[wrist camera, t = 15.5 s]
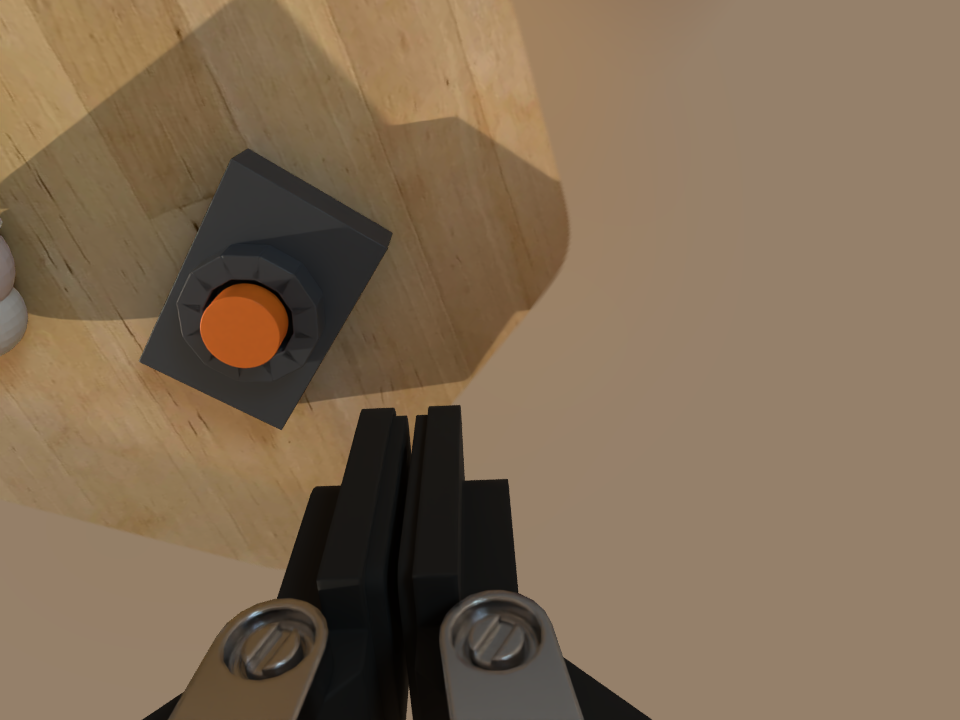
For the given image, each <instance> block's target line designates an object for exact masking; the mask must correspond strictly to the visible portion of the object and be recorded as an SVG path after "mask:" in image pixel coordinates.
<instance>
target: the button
mask: <svg viewBox="0 0 960 720" xmlns="http://www.w3.org/2000/svg"><path fill="white" fill-rule="evenodd" d="M287 330H288V315H287V312H286V309H285V307H284V305H283V304H282V302H281V301H280V300H279V298H278V297H277V296H276V295H275V294H273V293H272V292H271V291H269V290H268V289H266V288H264V287H262V286H259V285H255V284H249V283H241V284H235V285H232V286H230V287H227V288H226V289H224V290H223V291H222V292H221V293H220V294H219V295H218V296H217V297H216V298H215V299H214V300H213V301H212V303H211V304H210V305H209V306H208V307H207V308H206V310H205V311H204V313H203V315H202V318H201V322H200V332H201V337H202V339H203V342H204V344H205V346H206V347H207V349H208V350H209V351H210V352H211V353H212V354H213V355H214V356H215V357H216V358H217V359H219V360H220V361H222V362H224V363H226V364H228V365H231V366H234V367H239V368H252V367H257V366H260V365H262V364H265V363H266V362H268V361H269V360H270V359H271V358H272V357H273V356H274V355H275V353H276V352H277V350H278V348H279V347H280V345H281V343H282V341H283V340H284V338H285V336H286V334H287Z"/></svg>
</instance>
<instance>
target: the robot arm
mask: <svg viewBox="0 0 960 720" xmlns="http://www.w3.org/2000/svg"><path fill="white" fill-rule="evenodd" d="M511 518H512V517H511V507H510V496H509V485H508V479H498V480H497V479H496V480H471V481H465V476H464V458H463V439H462V421H461V407H460V405H452V406H429V408H428V415H417V416H416V422H415V430H414V438H413V446H412V454H411V445H410V435H409V424H408V418H407V416H396V411H395V408H375V409H362V410H361V413H360V416H359V420H358V424H357V428H356V431H355V435H354V439H353V443H352V447H351V450H350V454H349V458H348V462H347V465H346V469H345V473H344V477H343V481H342V484H341V486H317V487H315V488H314V489H313V491H312V493H311V495H310V498H309V501H308V504H307V507H306V510H305V514H304V517H303V520H302V523H301V526H300V529H299V532H298V535H297V538H296V541H295V544H294V548H293V551H292V554H291V557H290V560H289V563H288V566H287V569H286V572H285V576H284V579H283V582H282V585H281V588H280V591H279V594H278V597H277V599H273V600H270V601H266V602H262V603H259V604H256V605H254V606H252V607H250V608H248V609H246V610H244V611H242V612H240V613H239V614H238V615H237V616H235V617H234V618H233V619H231V620H230V621H229V622H228V623H227V624H226V625H225V626H224V627H223V629H222V630H221V631H220V633H219V634H218V635H217V636H216V638H215V640H214V642H213V643H212V645H211V647H210V648H209V650H208V652H207V653H206V655H205V657H204V659H203V660H202V662H201V664H200V665H199V667H198V669H197V671H196V672H195V674H194V676H193V677H192V679H191V681H190V683H189V684H188V686H187V688H186V689H185V691H184V692H183V693H181V694H180V695H178V696H177V697H175V698H174V699H173V700H171V701H170V702H168V703H166V704H165V705H163V706H162V707H161V708H159V709H158V710H156V711H155V712H153V713H152V714H150V715H149V716H147V717H146V718H144V719H143V720H406V712H407V699H408V688H409V690H410V698H411V707H412V715H413V720H652V719H650V718H649V717H648V716H646V715H645V714H643V713H642V712H640V711H639V710H637V709H636V708H635V707H633V706H632V705H631V704H629V703H627V702H626V701H625V700H623V699H622V698H620V697H619V696H618V695H616V694H615V693H613V692H612V691H611V690H609V689H608V688H606V687H605V686H604V685H602V684H601V683H599V682H598V681H596V680H595V679H594V678H592V677H591V676H589V675H588V674H586V673H585V672H584V671H582V670H581V669H579V668H578V667H576V666H575V665H574V664H572V663H571V662H569V661H568V660H567V659H565V658H564V657H563V656H562V652H561V649H560V646H559V644H558V640H557V637H556V634H555V631H554V628H553V625H552V623H551V621H550V619H549V618H548V616H547V614H546V612H545V611H544V610H543V609H542V608H541V607H540V606H539V605H538V604H537V603H536V602H535V601H533V600H532V599H530V598H527V597H525V596H523V595H521V594H519V593H518V584H517V573H516V562H515V551H514V539H513V528H512V519H511Z"/></svg>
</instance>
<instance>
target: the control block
mask: <svg viewBox="0 0 960 720" xmlns="http://www.w3.org/2000/svg"><path fill="white" fill-rule="evenodd" d="M391 237H392V232H390V231H389V230H387V229H385V228H383V227H382V226H380V225H378V224H377V223H375V222H373V221H371V220H370V219H368V218H366V217H365V216H363V215H361V214H359V213H358V212H356V211H354V210H353V209H351V208H349V207H347V206H346V205H344V204H342V203H341V202H339V201H337V200H335V199H334V198H332V197H330V196H329V195H327V194H325V193H323V192H322V191H320V190H318V189H317V188H315V187H313V186H311V185H310V184H308V183H306V182H305V181H303V180H301V179H299V178H298V177H296V176H294V175H293V174H291V173H289V172H287V171H286V170H284V169H282V168H281V167H279V166H277V165H275V164H274V163H272V162H270V161H269V160H267V159H265V158H263V157H262V156H260V155H258V154H257V153H255V152H253V151H251V150H250V149H246V150H245V151H243V152H241V153H240V154H238V155H236V156H235V157H233V158H232V159H231V160H230V162H229V164H228V166H227V169H226V171H225V173H224V175H223V177H222V180H221V182H220V184H219V186H218V188H217V191H216V193H215V195H214V197H213V199H212V201H211V204H210V206H209V208H208V210H207V212H206V215H205V217H204V219H203V221H202V223H201V226H200V228H199V230H198V232H197V234H196V237H195V239H194V241H193V243H192V245H191V248H190V250H189V252H188V254H187V256H186V259H185V261H184V263H183V265H182V267H181V270H180V272H179V274H178V276H177V278H176V280H175V283H174V285H173V287H172V289H171V291H170V294H169V296H168V298H167V300H166V302H165V305H164V307H163V309H162V311H161V313H160V316H159V318H158V320H157V322H156V324H155V327H154V329H153V331H152V333H151V335H150V338H149V340H148V342H147V344H146V346H145V349H144V351H143V353H142V355H141V357H140V360H139V362H141V363H143V364H145V365H147V366H149V367H151V368H153V369H155V370H157V371H159V372H161V373H163V374H166V375H168V376H170V377H172V378H174V379H176V380H178V381H180V382H182V383H184V384H186V385H188V386H191V387H193V388H195V389H197V390H199V391H201V392H203V393H205V394H207V395H209V396H211V397H213V398H216V399H218V400H220V401H222V402H224V403H226V404H228V405H230V406H232V407H234V408H236V409H239V410H241V411H243V412H245V413H247V414H249V415H251V416H253V417H255V418H257V419H259V420H261V421H264V422H266V423H268V424H270V425H272V426H274V427H276V428H278V429H280V430H282V429H283V427H284V425H285V424H286V422H287V420H288V418H289V417H290V415H291V413H292V412H293V410H294V408H295V406H296V405H297V403H298V401H299V400H300V398H301V396H302V394H303V393H304V391H305V389H306V388H307V386H308V384H309V382H310V381H311V379H312V377H313V376H314V374H315V372H316V371H317V369H318V367H319V365H320V364H321V362H322V360H323V359H324V357H325V355H326V353H327V352H328V350H329V348H330V347H331V345H332V343H333V341H334V340H335V338H336V336H337V335H338V333H339V331H340V329H341V328H342V326H343V324H344V323H345V321H346V319H347V317H348V316H349V314H350V312H351V311H352V309H353V307H354V305H355V304H356V302H357V300H358V299H359V297H360V295H361V293H362V292H363V290H364V288H365V287H366V285H367V283H368V281H369V280H370V278H371V276H372V275H373V273H374V271H375V269H376V268H377V266H378V264H379V263H380V261H381V259H382V257H383V256H384V254H385V252H386V251H387V249H388V246H389V243H390V240H391ZM241 283H249V284H255V285H259V286H262V287H264V288H266V289H268V290H269V291H271V292H272V293H273V294H275V295H276V296H277V297H278V298H279V300H280V301H281V302H282V304H283V305H284V307H285V309H286V312H287V315H288V330H287V334H286V336H285V338H284V340H283V341H282V343H281V345H280V347H279V348H278V350H277V352H276V353H275V355H274V356H273V357H272V358H271V359H270V360H269V361H268V362H266V363H265V364H262V365H260V366H257V367H252V368H239V367H234V366H231V365H228V364H226V363H224V362H222V361H220V360H219V359H217V358H216V357H215V356H214V355H213V354H212V353H211V352H210V351H209V350H208V349H207V347H206V346H205V344H204V342H203V339H202V337H201V332H200V322H201V318H202V315H203V313H204V311H205V310H206V308H207V307H208V306H209V305H210V304H211V303H212V301H213V300H214V299H215V298H216V297H217V296H218V295H219V294H220V293H221V292H222V291H223V290H224V289H226V288H227V287H230V286H232V285H235V284H241Z"/></svg>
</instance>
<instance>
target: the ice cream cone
mask: <svg viewBox="0 0 960 720" xmlns="http://www.w3.org/2000/svg"><path fill="white" fill-rule="evenodd" d="M1 225H2V219H1V218H0V227H1ZM15 273H16V270H15V262H14V258H13V256H12V253H11V250H10V248H9V246H8V244H7V243H6V241H5V240H4V238H3V237H2V236H1V235H0V356H2V355H3V354H5V353H7V352H8V351H10V350H11V349H13V348H14V347H15V346H16V345H17V344H18V342H19V341H20V340H21V339H22V337H23V335H24V333H25V331H26V328H27V322H28V312H27V307H26V305H25V302H24V300H23V298H22V296H21V295H20V293H19V292H18V291H17V290H16V289H15V288H14V287H13V285H14V280H15Z"/></svg>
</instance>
